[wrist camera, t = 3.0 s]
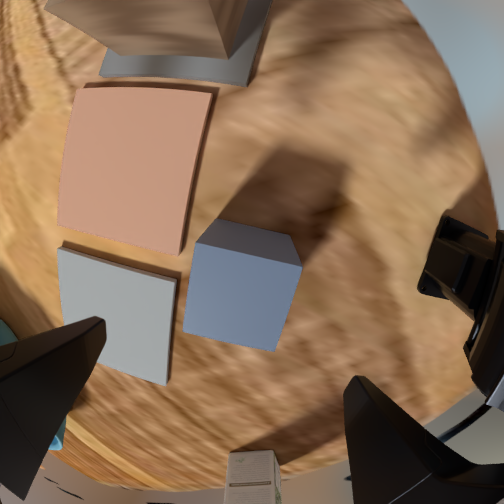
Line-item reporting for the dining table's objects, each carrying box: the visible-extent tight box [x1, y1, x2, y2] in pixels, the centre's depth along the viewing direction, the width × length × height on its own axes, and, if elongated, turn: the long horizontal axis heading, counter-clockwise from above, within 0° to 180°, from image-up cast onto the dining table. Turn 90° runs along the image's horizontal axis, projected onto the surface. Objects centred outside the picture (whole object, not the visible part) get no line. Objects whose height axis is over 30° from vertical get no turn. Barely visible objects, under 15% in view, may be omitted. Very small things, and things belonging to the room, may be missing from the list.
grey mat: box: [57, 246, 177, 386], centre depth 20 cm, size 11×11×1 cm
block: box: [183, 218, 303, 352], centre depth 16 cm, size 5×5×6 cm
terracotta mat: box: [57, 87, 213, 256], centre depth 17 cm, size 11×11×1 cm
